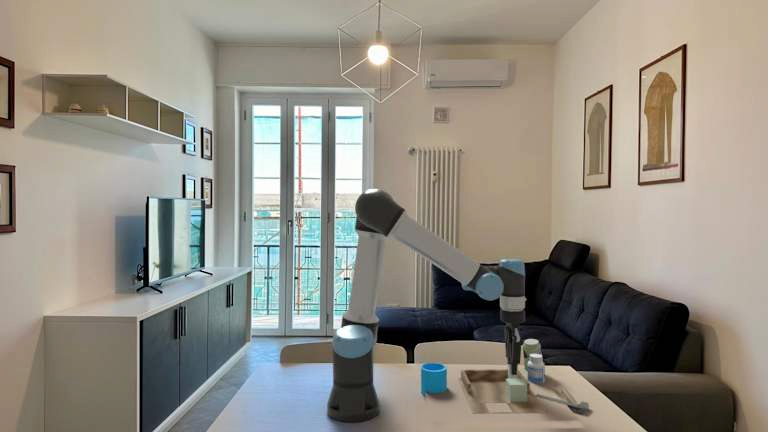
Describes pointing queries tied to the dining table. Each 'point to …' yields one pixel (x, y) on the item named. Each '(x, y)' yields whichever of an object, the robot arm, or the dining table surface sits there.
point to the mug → (433, 378)
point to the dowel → (569, 396)
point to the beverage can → (530, 350)
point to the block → (516, 390)
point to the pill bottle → (536, 369)
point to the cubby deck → (494, 391)
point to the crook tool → (569, 404)
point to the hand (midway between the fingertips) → (513, 383)
